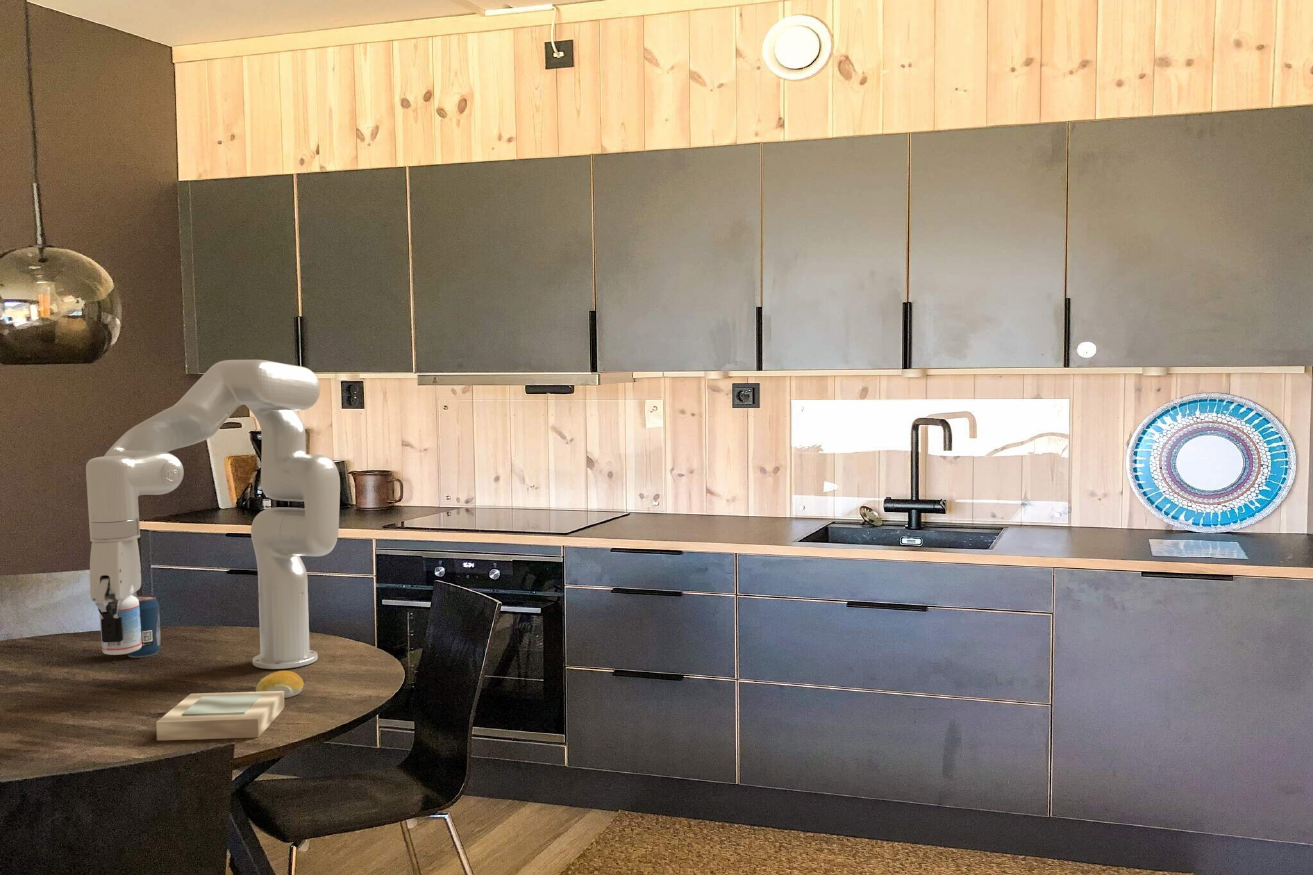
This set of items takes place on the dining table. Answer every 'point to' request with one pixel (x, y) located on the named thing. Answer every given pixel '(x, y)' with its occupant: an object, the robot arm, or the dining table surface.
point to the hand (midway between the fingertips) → (121, 635)
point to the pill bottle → (126, 627)
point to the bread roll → (281, 683)
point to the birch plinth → (221, 715)
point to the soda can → (148, 627)
